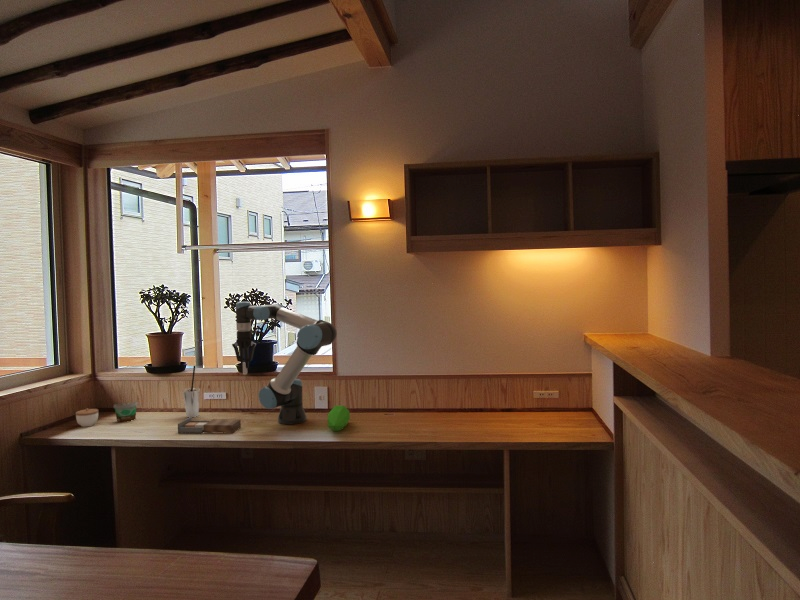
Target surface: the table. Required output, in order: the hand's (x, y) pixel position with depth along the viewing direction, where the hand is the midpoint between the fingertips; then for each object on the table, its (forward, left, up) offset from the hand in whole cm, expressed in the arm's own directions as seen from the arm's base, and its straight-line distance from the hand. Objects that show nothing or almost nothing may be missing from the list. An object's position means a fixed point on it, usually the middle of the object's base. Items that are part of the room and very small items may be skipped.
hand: (245, 374), depth 289 cm
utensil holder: (+36, -12, -27) cm, 46 cm away
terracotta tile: (+24, +14, -23) cm, 36 cm away
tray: (+22, +14, -26) cm, 37 cm away
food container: (+69, -2, -27) cm, 74 cm away
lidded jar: (+86, +7, -27) cm, 90 cm away
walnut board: (+8, +14, -26) cm, 31 cm away
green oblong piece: (-52, +12, -27) cm, 60 cm away
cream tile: (+18, +14, -26) cm, 35 cm away
